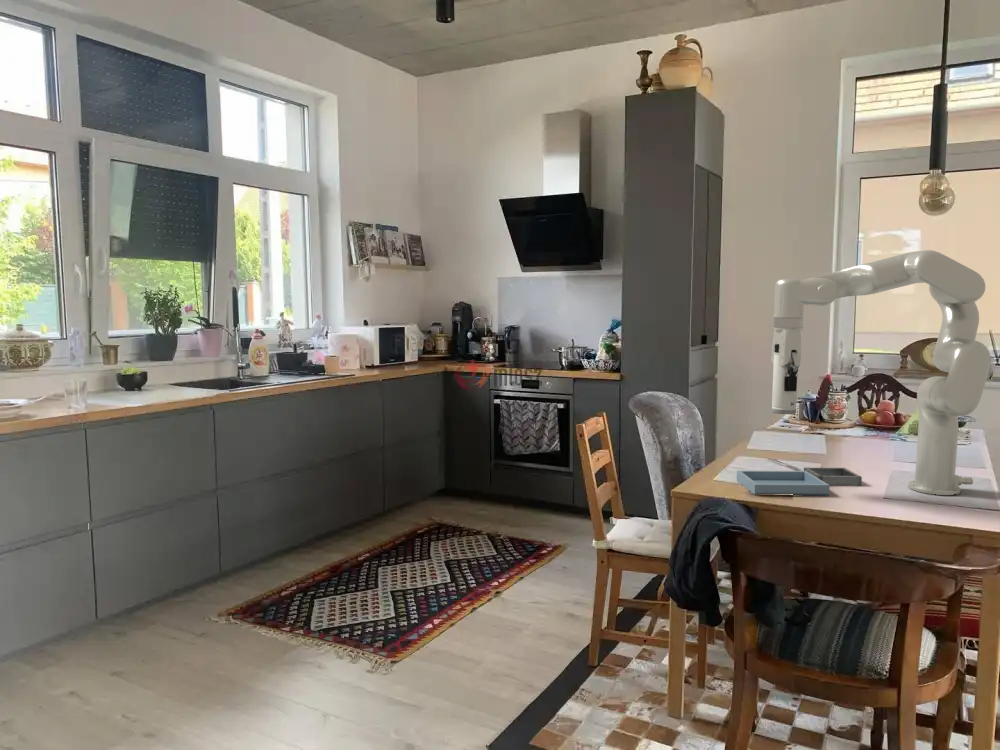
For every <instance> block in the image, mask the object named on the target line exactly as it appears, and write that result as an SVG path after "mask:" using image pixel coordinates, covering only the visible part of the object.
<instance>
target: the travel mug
mask: <svg viewBox="0 0 1000 750" xmlns="http://www.w3.org/2000/svg"><path fill="white" fill-rule="evenodd" d="M774 348H775V350H774V354H775V355H774V364H773V368H772V369H773V372H772V374H773V375H772V376H773V377H772V391H771V392H772V395H771V396H772V398H771V412H772V413H773V414H777V415H778V414H780V415H795V414H796V413H797V395H798V389H797V390H796V391H784V378H785V376H786V371H785V366H780V365H779V344H776V345H775V347H774ZM785 365H786V364H785ZM788 365H793V363H788ZM789 370H790V368H789Z"/></svg>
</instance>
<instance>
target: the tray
mask: <svg viewBox="0 0 1000 750" xmlns="http://www.w3.org/2000/svg"><path fill="white" fill-rule="evenodd" d="M736 480H737V481H738V482H737V481H736V482H737V483H739V484H740V483H741V484H742V485H743V486H744V487H743V486H742V485H741V484H740V485H741V486H742V487H743V488H745V487H746V488H747V489H748V490H750V491H751V492H752V493H753V494H755V495H756V494H793V495H802V496H801V497H830V487H831V485H829V484H827V483H825V482H824V481H822V480H820V479H819V478H817V477H815V476H813V475H812V474H810V473H808V472H807V471H804V470H736ZM746 488H745V489H746ZM747 489H746V490H747ZM748 490H747V491H748ZM750 491H749V492H750ZM751 492H750V493H751ZM752 493H751V494H752ZM753 494H752V495H753Z"/></svg>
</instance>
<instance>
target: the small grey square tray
mask: <svg viewBox="0 0 1000 750" xmlns="http://www.w3.org/2000/svg"><path fill="white" fill-rule="evenodd" d="M803 471H807V472H808V473H810V474H812V475H813V476H815V477H817V478H819V479H820V480H822V481H824V482H825V483H827V484H829V485H830V486H862V480H863V479H862V476H861V475H859V474H857V473H855V472H853V471H851V470H850V469H848V468H846V467H803Z"/></svg>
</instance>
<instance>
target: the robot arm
mask: <svg viewBox="0 0 1000 750" xmlns="http://www.w3.org/2000/svg"><path fill="white" fill-rule="evenodd" d="M985 282H986V281H985V280H984V278H983V276H982V275H981V274H980V273H978V272H977V271H975V270H974V269H973V268H972V269H971V268H970V267H968V266H966V265H964V264H963V263H960V262H958V261H957V260H955V259H953V258H951V257H949V256H947V255H945V254H943V253H941V252H938V251H936V250H933V249H931V250H930V249H929V250H928V249H927V250H917V251H910V252H907V253H902V254H897V255H893V256H890V257H886V258H882V259H879V260H875V261H871V262H870V261H869V262H867V263H863V264H859V265H855V266H851V267H848V268H845V269H841V270H836V271H833V272H829V273H824V274H821V275H817V276H813V277H808V278H805V279H800V278H780V279H778V280H777V281H776V282H775V285H774V303H773V304H774V305H773V306H774V307H773V330H774V331H773V337H772V344H771V345H772V346H771V355H770V362H771V363H772V364H773V365H774V355H775V354H774V350H775V348H774V347H775V345H776V344H779V365H780V366H785V371H786V376H785V378H784V391H796V390H797V391H798V375H799V374H798V373H799V368H800V364H801V359H802V358H801V357H802V334H801V331H803V330H804V328H803V327H804V311H805V310H804V309H805V306H814V307H815V306H816V307H823V306H825V307H826V306H828V305H830V304H832V303H833V302H835V300H836V299H842V298H846V297H856V296H857V297H858V296H859V297H860V296H870V295H875V294H879V293H882V292H886V291H890V290H893V289H897V288H903V287H906V286H910V285H914V284H920V283H921V284H923V283H925V284H926V285H929V286H928V290H929V294H930V296H931V297H932V299H933V300H934V301H935V302H936V303H937V304H938V306H939V308H940V310H941V314H942V321H941V326H940V329H939V333H938V337H937V341H936V343H935V347H934V350H933V354H932V362H933V363H932V364H933V365H934V367H936V368H937V369H938V370H940V371H942V372H945V373H948V374H947V376H939V375H936V376H931V377H928V378H926V379H924V380H923V381H922V382H921V383H920V384H919V386H918V388H917V392H916V401H917V402H916V403H917V409H918V429H917V440H916V441H917V443H916V460H915V475H914V476H915V477H914V480H911V481H909V482H908V484H907V486H908V488H909V489H910V488H911V490H912V491H915V492H919V493H924V494H928V495H935V494H936V495H937V496H955V495H954V494H956V495H959V494H961V493H960V492H962V491H961V490H962V489H961V488H960V486H962V485H970V486H971V485H973V484H974V483H973V482H974V481H973V480H974V479H973V478H972V477H962V475H960V476H959V475H957V474H956V467H957V456H958V455H957V453H958V452H957V451H958V450H957V449H958V441H959V440H958V439H959V419H958V417H965V416H969V415H970V414H972V413H973V412H974V411H975V410H976V408H977V407H978V406H979V404H980V401H981V399H982V396H983V393H984V389H985V386H986V384H987V383H986V382H987V379H988V376H989V372H990V369H991V364H992V359H991V353H990V351H989V349H988V348H987V346H986V345H985V344H984V343H982V342H981V341H978V340H976V338H977V333H978V328H979V324H980V312H979V310H978V307H977V304H976V302H977V301H979V300H980V299H981V298H982V296H983V295H985V292H986V283H985ZM788 363H793V365H788ZM785 364H786V365H785ZM789 368H790V370H789Z"/></svg>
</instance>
